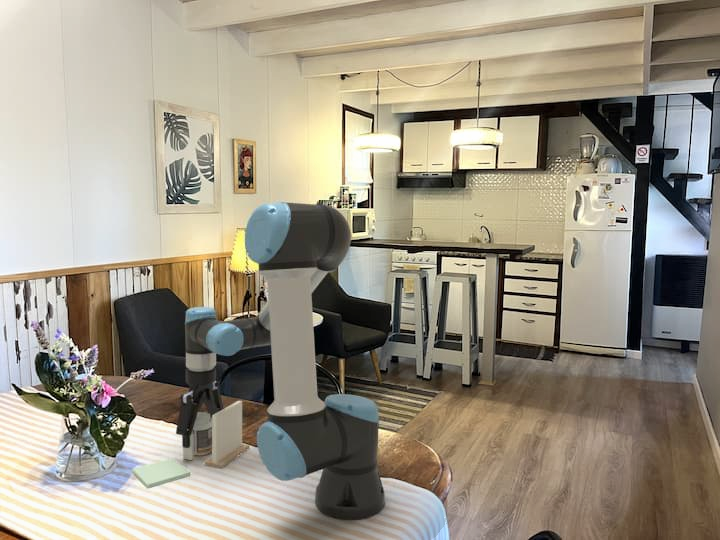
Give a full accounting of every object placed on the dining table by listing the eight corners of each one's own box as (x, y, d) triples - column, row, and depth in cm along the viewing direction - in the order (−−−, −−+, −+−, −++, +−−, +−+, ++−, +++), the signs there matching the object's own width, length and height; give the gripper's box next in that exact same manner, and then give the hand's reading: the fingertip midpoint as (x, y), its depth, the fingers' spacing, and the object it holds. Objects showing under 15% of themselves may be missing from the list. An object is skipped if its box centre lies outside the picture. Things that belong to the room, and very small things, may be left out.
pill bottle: (215, 447, 148) (215, 411, 147) (207, 457, 143) (207, 419, 142) (195, 446, 149) (194, 410, 148) (186, 455, 143) (186, 418, 142)
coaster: (189, 475, 132) (189, 472, 132) (147, 488, 126) (147, 484, 126) (173, 461, 140) (173, 457, 140) (132, 472, 133) (132, 469, 133)
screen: (233, 445, 150) (233, 399, 149) (249, 448, 148) (249, 401, 147) (204, 465, 138) (204, 415, 137) (221, 468, 136) (221, 417, 135)
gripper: (213, 355, 155) (213, 432, 158) (159, 377, 134) (160, 465, 136) (237, 358, 153) (237, 436, 155) (185, 380, 132) (186, 471, 134)
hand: (201, 450), depth 146 cm, fingers open, 10 cm apart
